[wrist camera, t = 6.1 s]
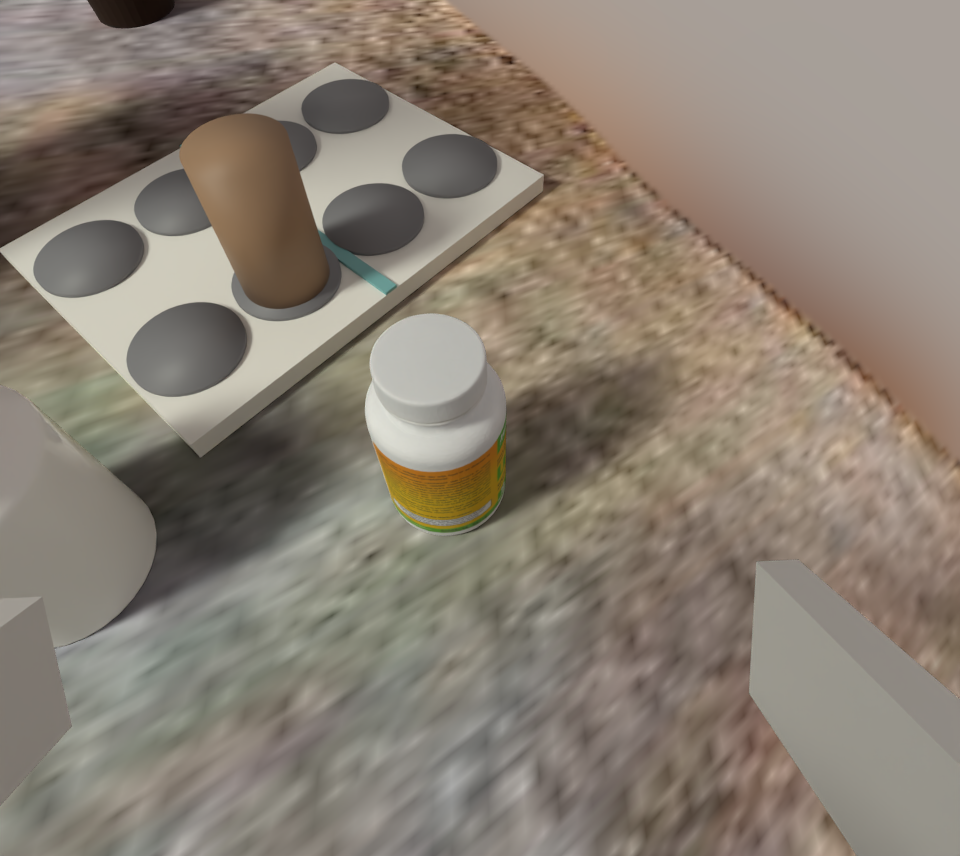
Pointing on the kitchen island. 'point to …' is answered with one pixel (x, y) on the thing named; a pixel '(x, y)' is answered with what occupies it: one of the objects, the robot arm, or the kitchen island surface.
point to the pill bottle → (66, 525)
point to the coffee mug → (130, 11)
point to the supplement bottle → (437, 423)
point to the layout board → (215, 271)
